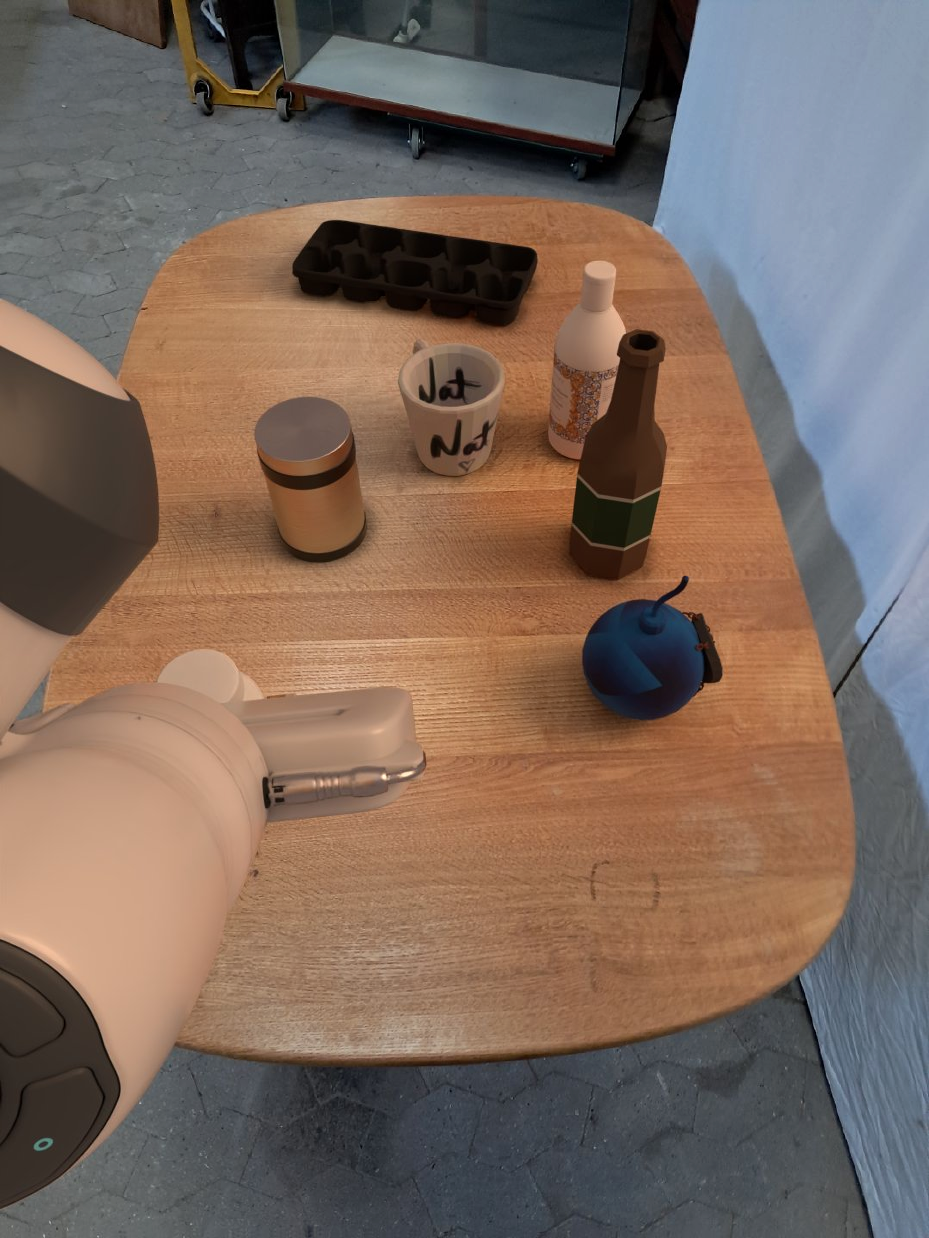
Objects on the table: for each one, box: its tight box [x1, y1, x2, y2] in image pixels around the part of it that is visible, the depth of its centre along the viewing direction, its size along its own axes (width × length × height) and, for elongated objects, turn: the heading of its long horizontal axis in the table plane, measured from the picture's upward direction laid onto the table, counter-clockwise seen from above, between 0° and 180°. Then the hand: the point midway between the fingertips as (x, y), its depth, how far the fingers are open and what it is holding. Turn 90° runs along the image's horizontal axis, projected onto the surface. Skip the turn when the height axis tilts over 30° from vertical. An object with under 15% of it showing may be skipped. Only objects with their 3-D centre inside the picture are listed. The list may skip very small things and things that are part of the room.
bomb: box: [581, 575, 724, 722], centre depth 72 cm, size 10×11×15 cm
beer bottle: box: [568, 328, 668, 581], centre depth 77 cm, size 8×8×24 cm
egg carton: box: [291, 219, 539, 327], centre depth 112 cm, size 18×30×4 cm, turn 86°
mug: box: [397, 338, 506, 477], centre depth 93 cm, size 10×15×10 cm
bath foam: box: [547, 260, 627, 460], centre depth 88 cm, size 7×7×20 cm
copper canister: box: [253, 396, 368, 563], centre depth 84 cm, size 9×9×13 cm
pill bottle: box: [155, 648, 266, 703], centre depth 47 cm, size 5×5×10 cm
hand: (217, 716), depth 46 cm, fingers closed on pill bottle, 5 cm apart
